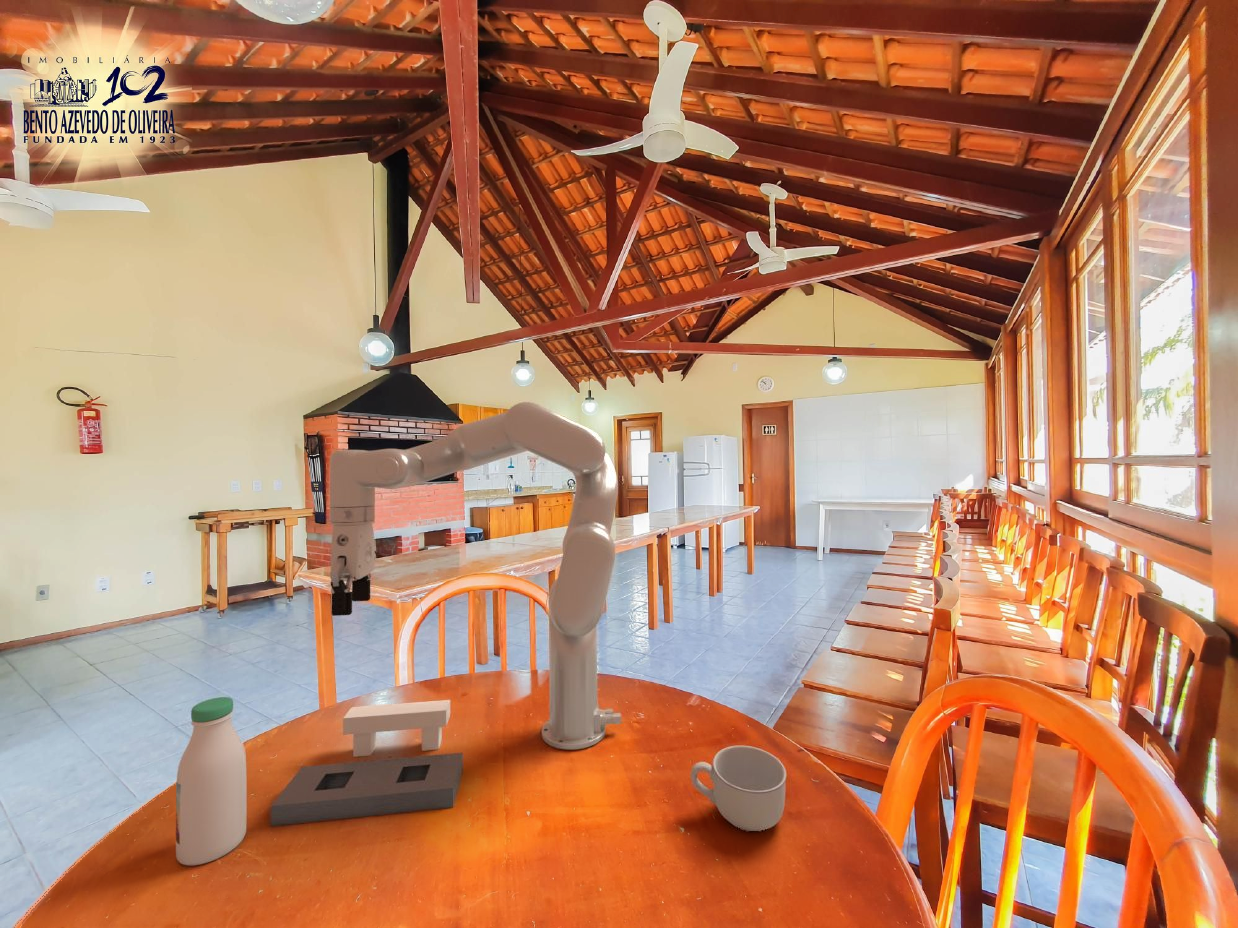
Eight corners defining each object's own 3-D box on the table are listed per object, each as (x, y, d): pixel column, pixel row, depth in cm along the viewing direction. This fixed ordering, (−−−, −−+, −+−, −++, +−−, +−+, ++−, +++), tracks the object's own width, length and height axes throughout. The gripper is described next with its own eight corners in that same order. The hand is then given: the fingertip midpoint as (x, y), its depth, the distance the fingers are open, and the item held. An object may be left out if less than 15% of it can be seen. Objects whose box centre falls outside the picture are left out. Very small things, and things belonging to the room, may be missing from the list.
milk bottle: (259, 828, 74) (260, 691, 75) (212, 869, 67) (213, 717, 67) (211, 825, 75) (212, 689, 75) (159, 865, 68) (160, 715, 68)
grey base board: (462, 769, 89) (462, 752, 89) (453, 807, 79) (453, 787, 79) (301, 784, 85) (301, 766, 85) (270, 826, 75) (270, 805, 75)
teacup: (787, 802, 79) (786, 751, 80) (786, 852, 69) (785, 793, 69) (698, 785, 84) (698, 736, 84) (685, 829, 74) (685, 774, 74)
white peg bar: (450, 738, 99) (450, 699, 99) (446, 750, 95) (446, 710, 95) (352, 746, 96) (352, 706, 96) (343, 759, 92) (343, 718, 92)
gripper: (357, 520, 87) (356, 620, 87) (387, 511, 104) (387, 595, 104) (310, 520, 86) (309, 622, 86) (348, 512, 103) (347, 596, 103)
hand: (352, 607), depth 95 cm, fingers open, 9 cm apart
